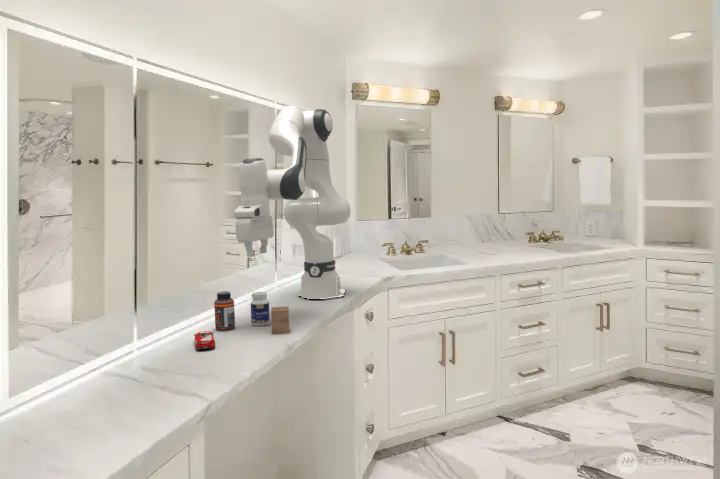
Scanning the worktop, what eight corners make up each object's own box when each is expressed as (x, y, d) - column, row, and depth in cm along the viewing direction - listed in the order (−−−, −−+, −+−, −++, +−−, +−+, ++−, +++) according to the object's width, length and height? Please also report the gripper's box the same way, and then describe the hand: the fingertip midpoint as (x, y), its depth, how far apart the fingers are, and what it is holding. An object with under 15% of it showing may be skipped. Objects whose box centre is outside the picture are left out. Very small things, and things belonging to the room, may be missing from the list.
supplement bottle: (211, 329, 165) (209, 292, 164) (228, 325, 170) (226, 289, 169) (222, 332, 161) (220, 295, 160) (239, 328, 166) (237, 291, 165)
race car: (194, 340, 154) (193, 327, 153) (214, 338, 155) (213, 325, 155) (194, 353, 141) (193, 338, 141) (215, 350, 143) (214, 336, 142)
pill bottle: (257, 327, 166) (255, 295, 165) (248, 324, 170) (246, 293, 169) (273, 323, 170) (271, 292, 169) (263, 320, 174) (262, 290, 173)
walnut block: (272, 330, 162) (271, 307, 161) (289, 329, 163) (288, 306, 162) (272, 334, 157) (271, 310, 157) (289, 333, 158) (288, 309, 157)
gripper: (259, 209, 178) (261, 251, 179) (230, 212, 158) (233, 258, 159) (277, 209, 176) (279, 251, 177) (250, 211, 156) (252, 258, 157)
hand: (257, 254), depth 168 cm, fingers open, 8 cm apart
